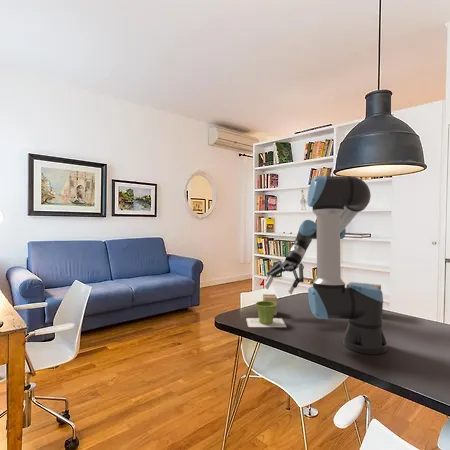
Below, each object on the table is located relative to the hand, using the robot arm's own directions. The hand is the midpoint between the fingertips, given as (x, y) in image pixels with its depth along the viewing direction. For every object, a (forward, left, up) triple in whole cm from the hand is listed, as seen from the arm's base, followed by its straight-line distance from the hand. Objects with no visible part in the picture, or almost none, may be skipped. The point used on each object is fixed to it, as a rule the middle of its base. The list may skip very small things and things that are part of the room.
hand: (277, 290), depth 155 cm
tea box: (+10, -46, -14) cm, 49 cm away
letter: (-6, +6, -14) cm, 16 cm away
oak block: (+8, +2, -14) cm, 16 cm away
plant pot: (-6, +6, -14) cm, 16 cm away
